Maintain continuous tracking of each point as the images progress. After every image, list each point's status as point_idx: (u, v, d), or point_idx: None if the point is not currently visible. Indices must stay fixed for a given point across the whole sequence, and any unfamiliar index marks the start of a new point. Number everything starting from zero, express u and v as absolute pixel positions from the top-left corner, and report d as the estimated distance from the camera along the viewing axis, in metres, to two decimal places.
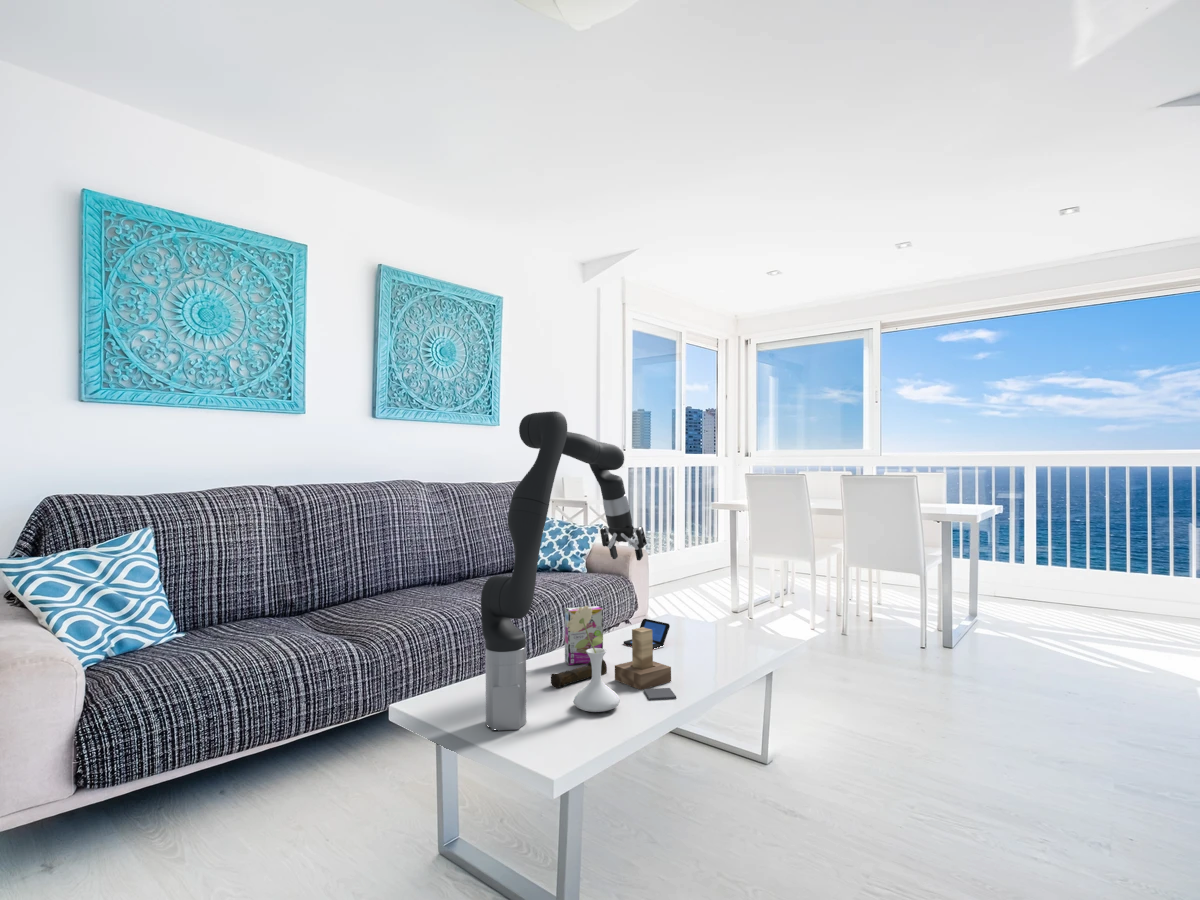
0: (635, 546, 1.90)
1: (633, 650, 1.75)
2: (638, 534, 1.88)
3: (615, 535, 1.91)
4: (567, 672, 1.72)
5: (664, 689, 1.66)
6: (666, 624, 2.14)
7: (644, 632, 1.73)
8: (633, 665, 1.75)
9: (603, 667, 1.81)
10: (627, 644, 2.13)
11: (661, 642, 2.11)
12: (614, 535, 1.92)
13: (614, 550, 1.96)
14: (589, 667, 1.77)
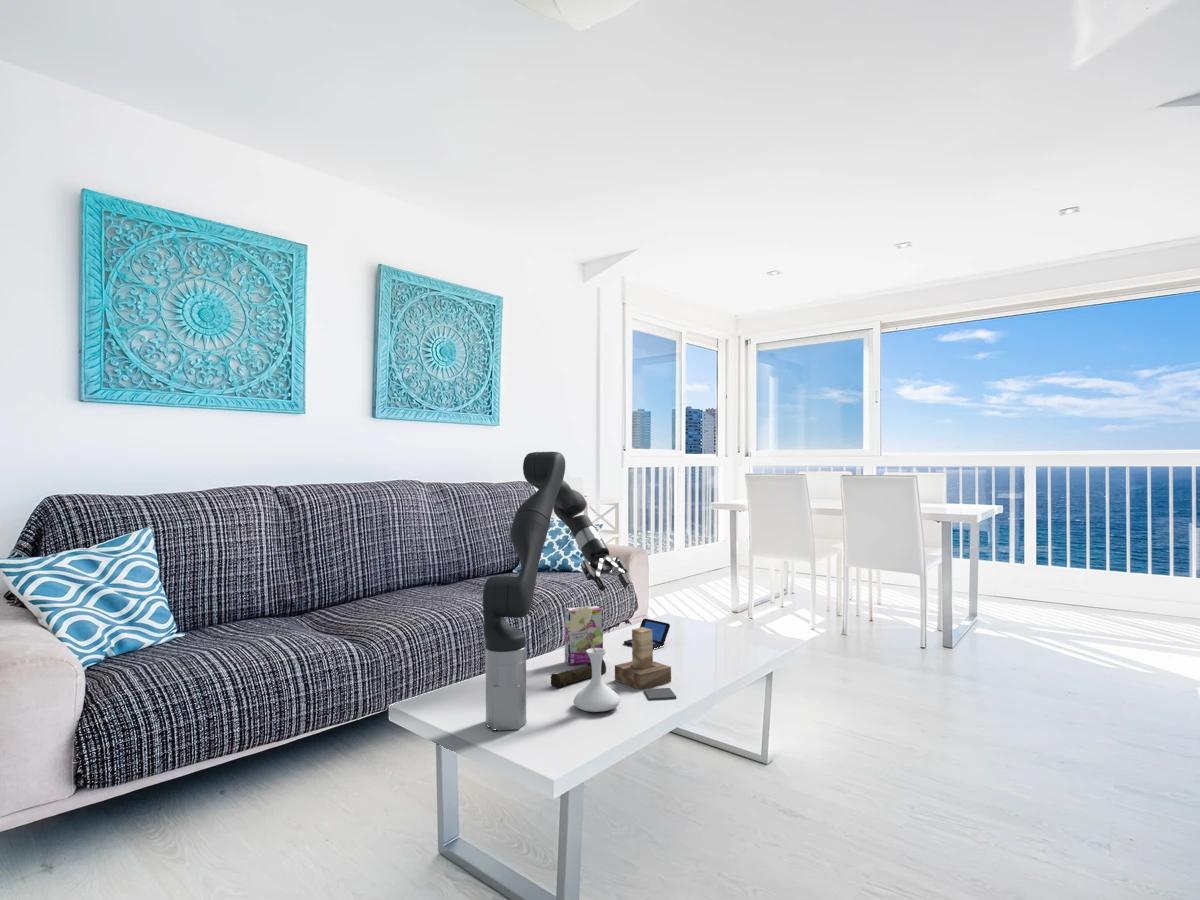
0: (621, 570, 1.90)
1: (633, 650, 1.75)
2: (620, 559, 1.94)
3: (602, 560, 1.88)
4: (567, 672, 1.72)
5: (664, 689, 1.66)
6: (666, 624, 2.14)
7: (644, 632, 1.73)
8: (633, 665, 1.75)
9: (602, 667, 1.81)
10: (627, 644, 2.13)
11: (661, 642, 2.11)
12: (601, 560, 1.88)
13: None
14: (589, 667, 1.77)
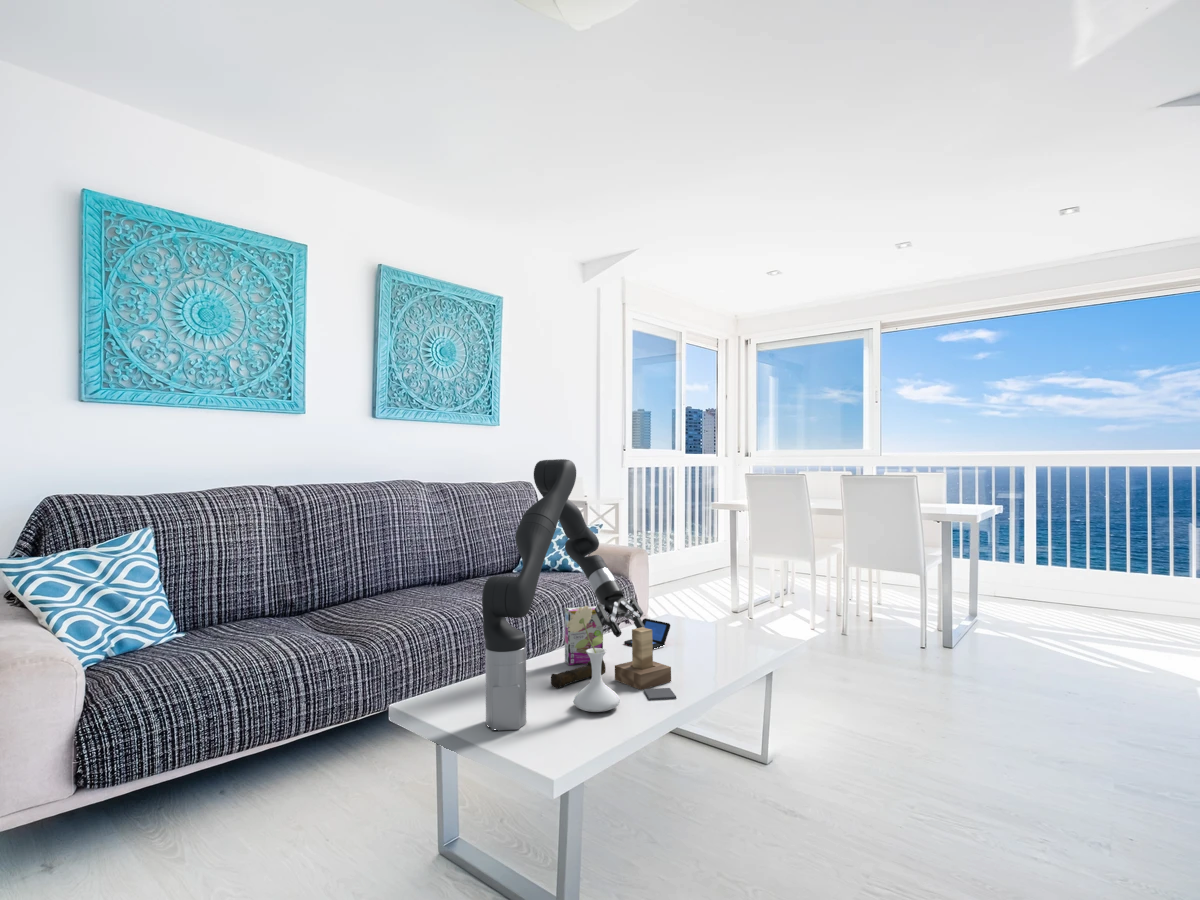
0: (636, 614, 1.84)
1: (633, 650, 1.75)
2: (635, 602, 1.88)
3: (616, 604, 1.82)
4: (567, 672, 1.72)
5: (664, 689, 1.66)
6: (667, 624, 2.14)
7: (644, 632, 1.73)
8: (633, 665, 1.75)
9: (602, 667, 1.81)
10: (628, 644, 2.13)
11: (662, 642, 2.11)
12: (615, 604, 1.82)
13: None
14: (588, 667, 1.77)
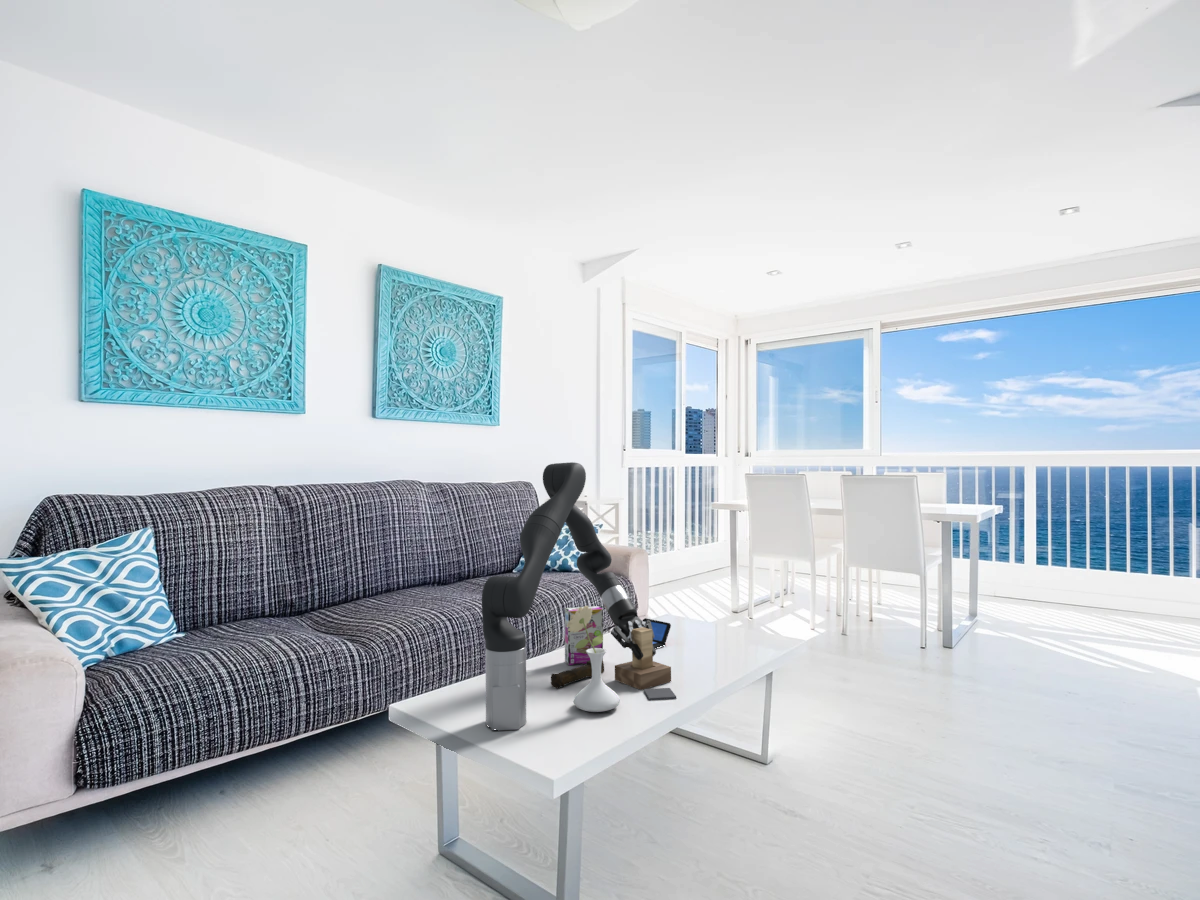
0: None
1: None
2: (649, 624, 1.82)
3: (630, 623, 1.78)
4: (567, 672, 1.72)
5: (664, 689, 1.66)
6: (667, 623, 2.14)
7: (644, 632, 1.73)
8: (633, 665, 1.75)
9: (601, 666, 1.81)
10: None
11: (662, 641, 2.11)
12: (630, 624, 1.77)
13: None
14: (588, 666, 1.77)
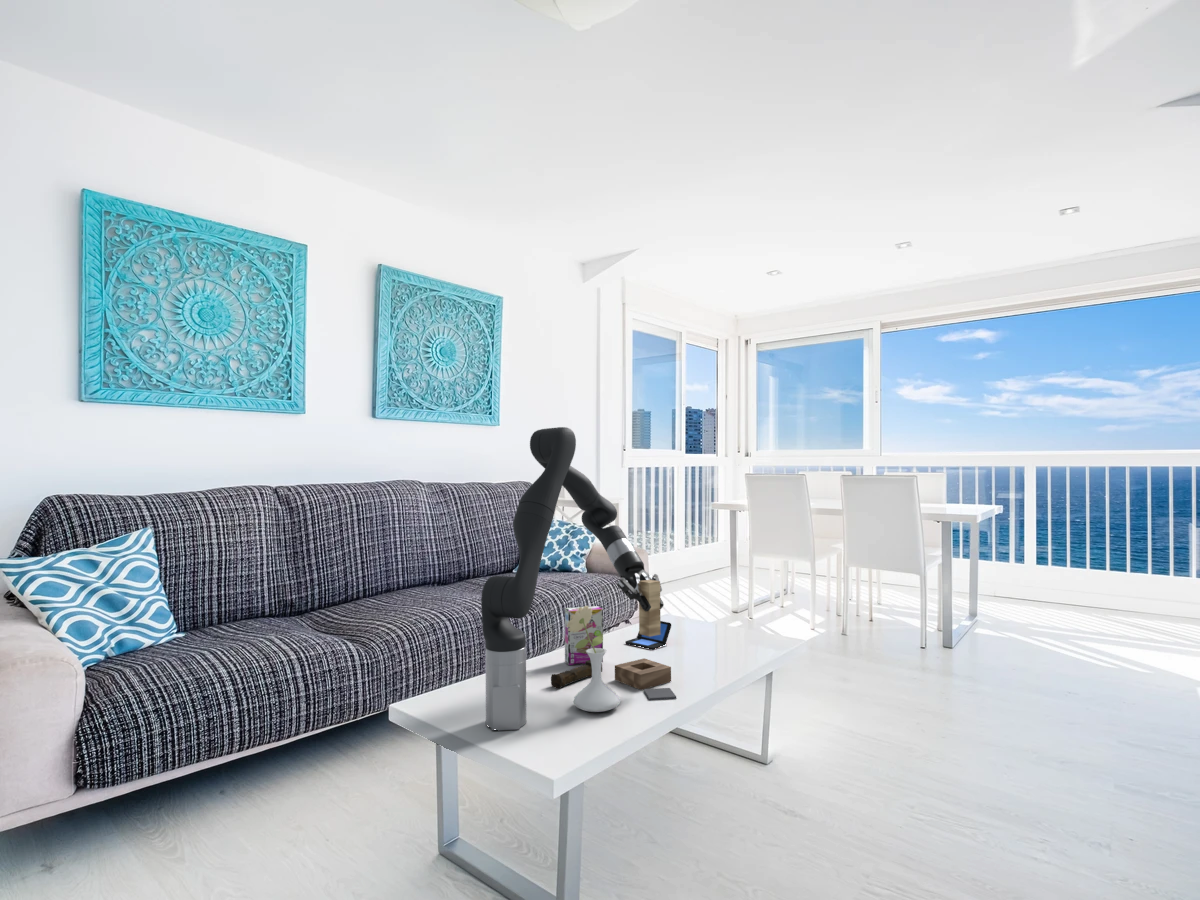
0: None
1: None
2: (656, 578, 1.76)
3: (637, 575, 1.72)
4: (567, 672, 1.72)
5: (664, 689, 1.66)
6: (668, 623, 2.15)
7: (652, 583, 1.67)
8: (640, 618, 1.69)
9: None
10: None
11: (663, 641, 2.12)
12: (637, 576, 1.71)
13: None
14: (587, 666, 1.78)
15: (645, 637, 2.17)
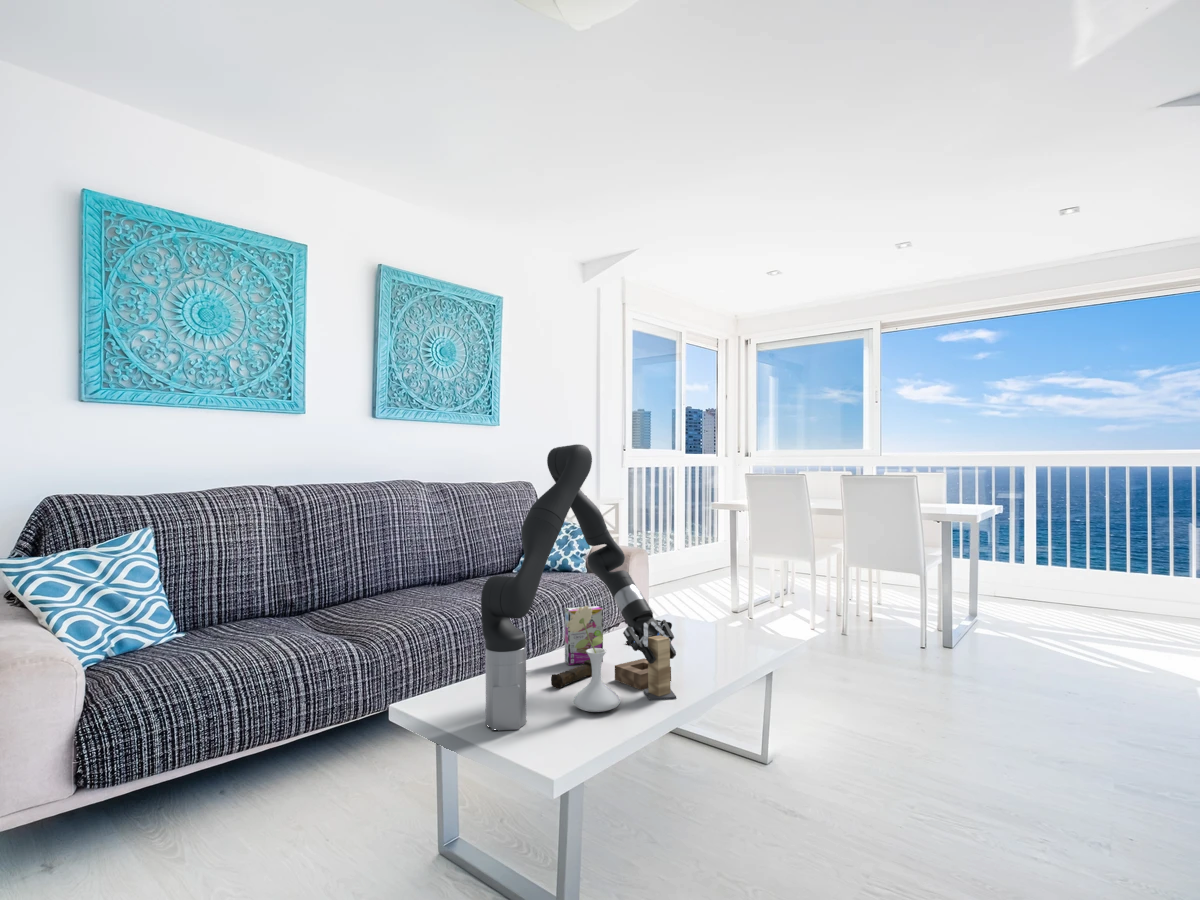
0: None
1: None
2: (666, 624, 1.71)
3: (646, 625, 1.66)
4: (567, 672, 1.72)
5: None
6: (668, 623, 2.15)
7: (661, 641, 1.62)
8: (649, 676, 1.63)
9: None
10: None
11: None
12: (645, 626, 1.66)
13: None
14: (586, 666, 1.78)
15: None
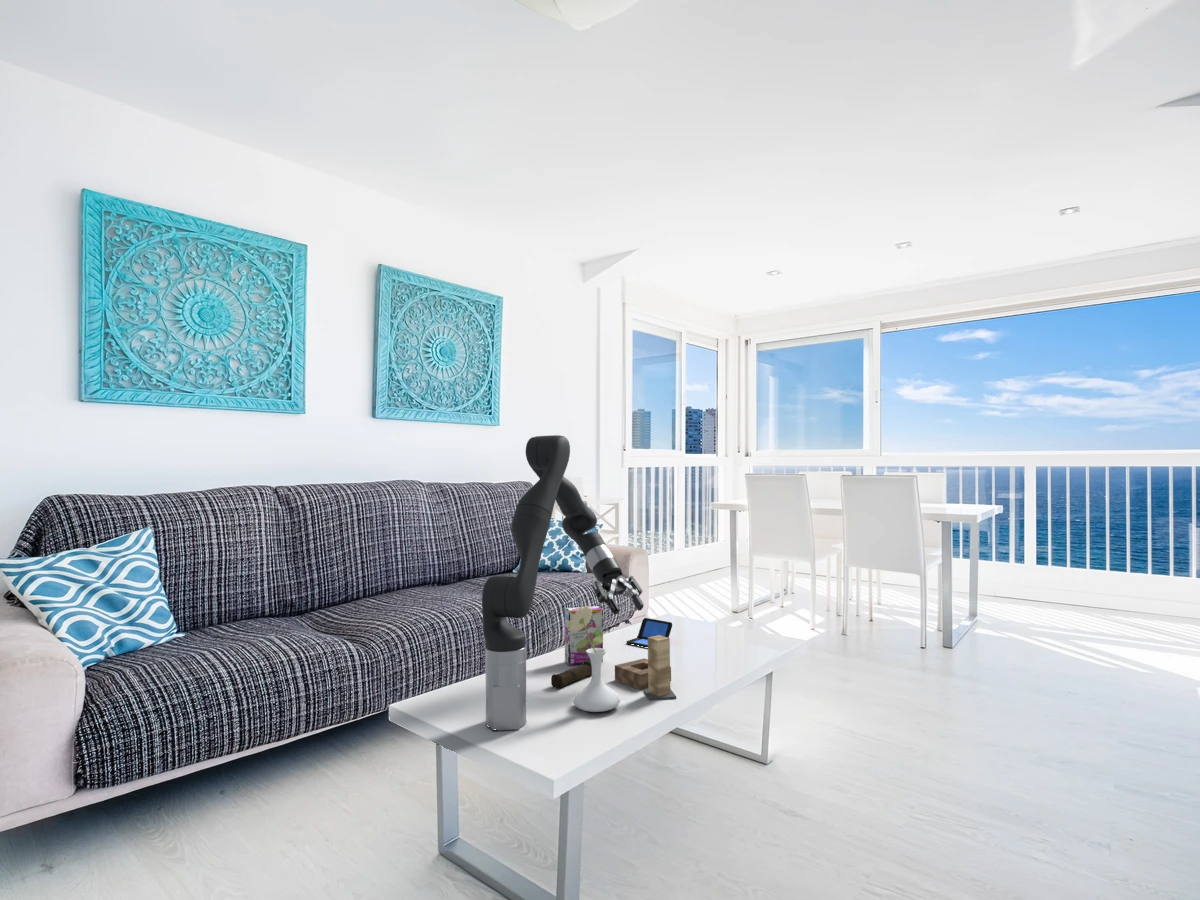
0: (635, 591, 1.78)
1: (649, 660, 1.64)
2: (633, 579, 1.82)
3: (614, 581, 1.77)
4: (567, 672, 1.72)
5: None
6: (668, 623, 2.15)
7: (661, 641, 1.62)
8: (649, 676, 1.63)
9: None
10: None
11: None
12: (613, 581, 1.77)
13: None
14: (585, 666, 1.78)
15: (646, 637, 2.17)
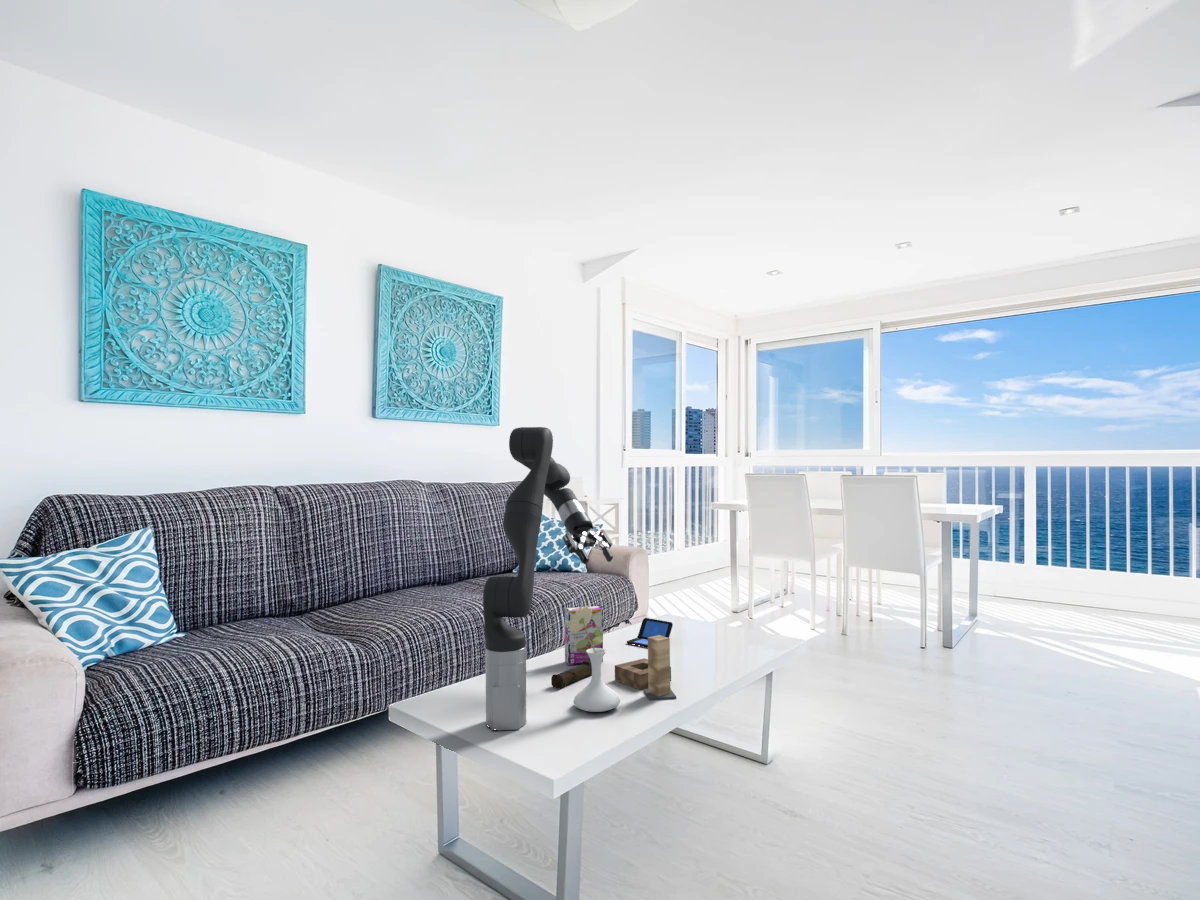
0: (605, 544, 1.84)
1: (649, 660, 1.64)
2: (604, 533, 1.87)
3: (585, 533, 1.82)
4: (567, 672, 1.72)
5: None
6: (669, 623, 2.16)
7: (661, 641, 1.62)
8: (649, 676, 1.63)
9: None
10: None
11: None
12: (584, 533, 1.82)
13: None
14: (585, 666, 1.78)
15: (646, 637, 2.18)
